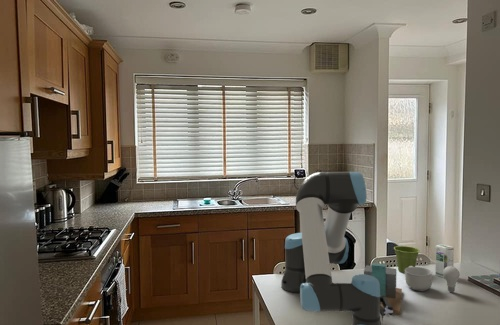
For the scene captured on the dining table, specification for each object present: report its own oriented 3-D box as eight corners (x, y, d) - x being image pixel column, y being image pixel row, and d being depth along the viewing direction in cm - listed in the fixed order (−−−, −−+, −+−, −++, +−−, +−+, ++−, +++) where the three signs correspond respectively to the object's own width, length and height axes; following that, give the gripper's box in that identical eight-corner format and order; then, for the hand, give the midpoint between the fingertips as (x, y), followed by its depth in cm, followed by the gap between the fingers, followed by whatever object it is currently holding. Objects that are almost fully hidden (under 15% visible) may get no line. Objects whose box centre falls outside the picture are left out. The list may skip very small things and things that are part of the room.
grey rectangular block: (363, 293, 146) (363, 270, 146) (366, 287, 153) (366, 265, 153) (395, 298, 141) (395, 274, 141) (396, 291, 148) (396, 268, 148)
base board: (354, 307, 137) (354, 303, 137) (362, 286, 158) (362, 283, 158) (400, 314, 130) (400, 310, 130) (401, 292, 151) (401, 288, 151)
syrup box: (434, 275, 172) (434, 245, 171) (443, 273, 174) (443, 243, 174) (445, 278, 166) (445, 248, 166) (454, 277, 169) (454, 246, 168)
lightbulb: (458, 290, 152) (458, 265, 152) (460, 296, 147) (460, 269, 146) (442, 288, 155) (442, 263, 154) (443, 293, 149) (443, 267, 149)
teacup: (435, 294, 149) (435, 275, 149) (407, 292, 151) (407, 273, 151) (425, 282, 163) (426, 264, 162) (400, 280, 165) (400, 263, 165)
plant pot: (417, 277, 169) (417, 253, 169) (391, 272, 176) (391, 250, 175) (421, 270, 179) (421, 247, 179) (396, 266, 185) (396, 244, 185)
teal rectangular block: (371, 295, 141) (371, 265, 141) (375, 283, 154) (375, 255, 153) (385, 297, 139) (385, 266, 139) (387, 284, 152) (387, 256, 151)
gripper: (348, 325, 113) (358, 297, 134) (392, 333, 107) (395, 303, 129) (348, 302, 112) (358, 277, 134) (392, 309, 107) (395, 282, 129)
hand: (376, 290), depth 131 cm, fingers closed
